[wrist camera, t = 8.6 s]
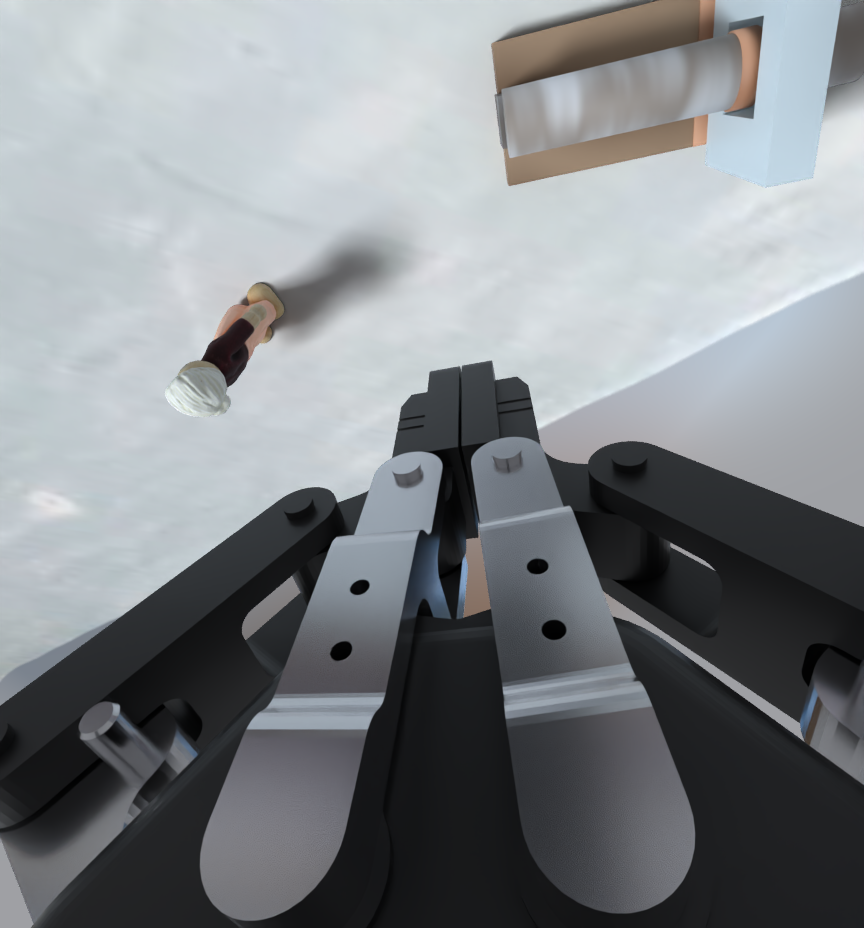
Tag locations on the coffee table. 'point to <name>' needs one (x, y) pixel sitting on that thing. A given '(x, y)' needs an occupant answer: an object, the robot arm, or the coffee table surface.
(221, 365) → the grandmother figurine
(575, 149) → the pipe stand
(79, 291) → the coffee table surface
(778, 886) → the robot arm
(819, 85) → the square plate with hole
